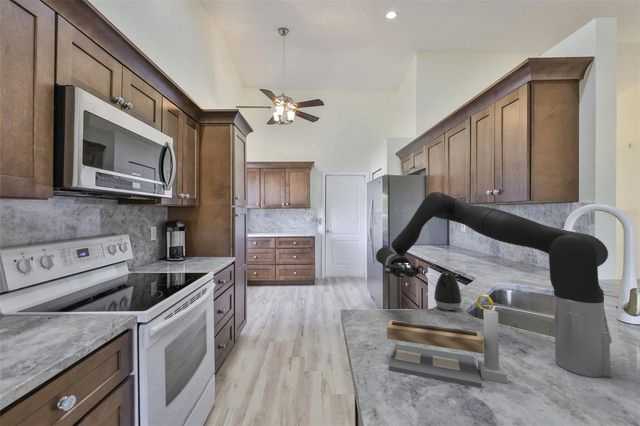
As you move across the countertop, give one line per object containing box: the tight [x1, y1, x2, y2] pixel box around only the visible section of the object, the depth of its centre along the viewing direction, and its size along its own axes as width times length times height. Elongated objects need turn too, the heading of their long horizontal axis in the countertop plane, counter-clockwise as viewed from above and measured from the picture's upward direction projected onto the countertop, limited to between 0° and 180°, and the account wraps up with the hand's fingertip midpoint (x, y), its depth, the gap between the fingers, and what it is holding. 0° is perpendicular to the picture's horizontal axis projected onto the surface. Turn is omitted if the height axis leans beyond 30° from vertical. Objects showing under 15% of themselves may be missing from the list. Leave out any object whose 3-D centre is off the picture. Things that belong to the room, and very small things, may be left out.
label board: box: [388, 309, 508, 389], centre depth 70 cm, size 26×13×15 cm, turn 68°
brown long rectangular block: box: [386, 319, 484, 355], centre depth 71 cm, size 22×6×4 cm, turn 68°
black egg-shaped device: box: [433, 271, 462, 311], centre depth 116 cm, size 10×10×15 cm
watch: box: [476, 294, 494, 311], centre depth 114 cm, size 6×3×6 cm, turn 30°
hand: (411, 274), depth 87 cm, fingers closed
